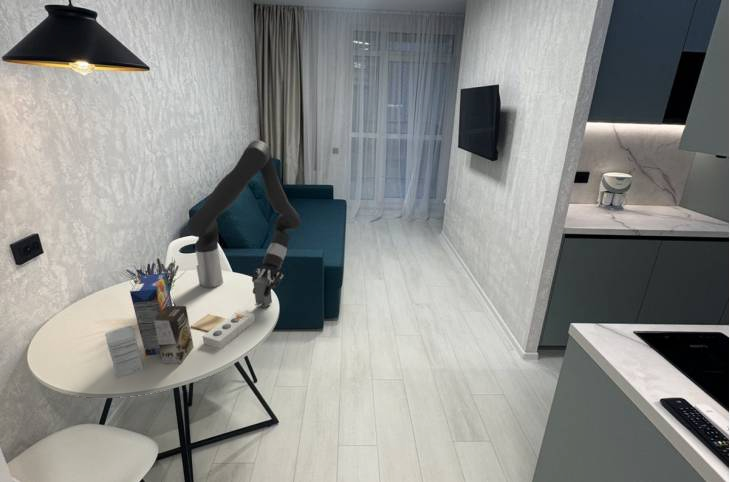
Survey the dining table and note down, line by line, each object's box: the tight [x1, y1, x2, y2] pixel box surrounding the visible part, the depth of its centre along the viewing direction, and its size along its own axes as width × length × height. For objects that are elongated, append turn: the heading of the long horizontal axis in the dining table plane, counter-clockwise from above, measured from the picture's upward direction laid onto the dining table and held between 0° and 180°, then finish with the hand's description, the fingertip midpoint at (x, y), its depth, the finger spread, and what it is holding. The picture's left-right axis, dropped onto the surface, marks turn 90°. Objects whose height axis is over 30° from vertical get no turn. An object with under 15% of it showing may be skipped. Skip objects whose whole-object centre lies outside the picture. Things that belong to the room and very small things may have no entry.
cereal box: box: [129, 272, 173, 357], centre depth 129 cm, size 12×8×24 cm, turn 13°
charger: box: [252, 277, 273, 308], centre depth 154 cm, size 4×7×11 cm
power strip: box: [202, 309, 256, 349], centre depth 139 cm, size 8×18×4 cm, turn 158°
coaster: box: [190, 313, 227, 333], centre depth 145 cm, size 9×9×1 cm
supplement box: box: [105, 325, 144, 378], centre depth 119 cm, size 7×7×13 cm
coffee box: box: [154, 305, 194, 365], centre depth 124 cm, size 9×6×16 cm
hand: (260, 294), depth 153 cm, fingers closed on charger, 4 cm apart
